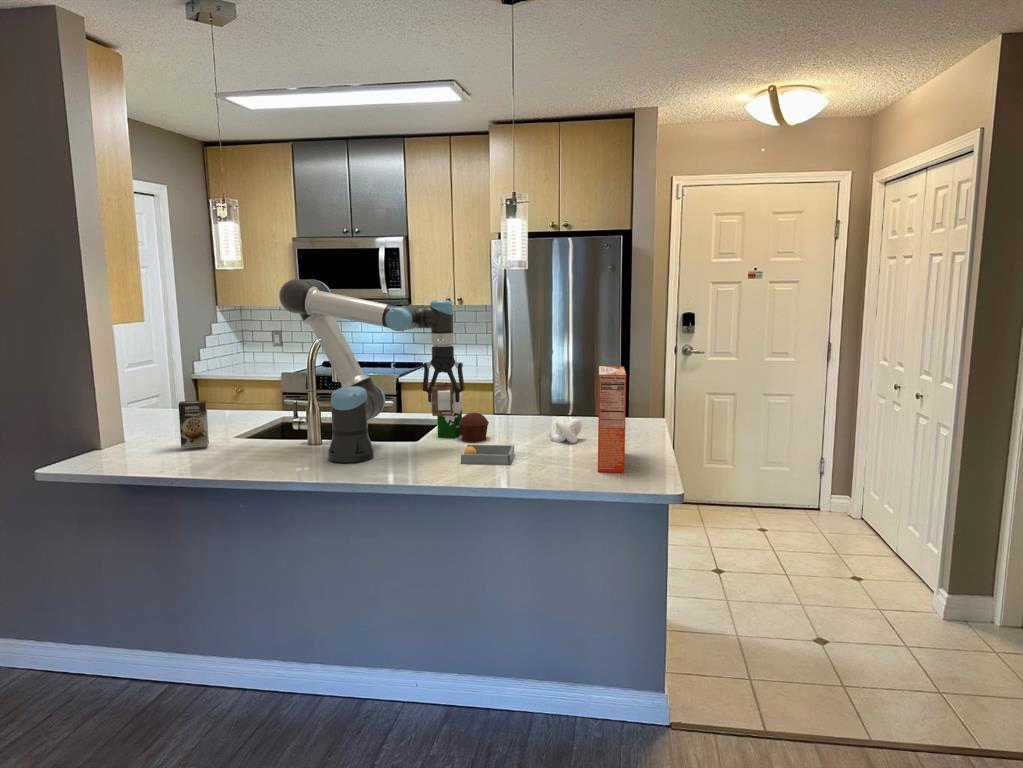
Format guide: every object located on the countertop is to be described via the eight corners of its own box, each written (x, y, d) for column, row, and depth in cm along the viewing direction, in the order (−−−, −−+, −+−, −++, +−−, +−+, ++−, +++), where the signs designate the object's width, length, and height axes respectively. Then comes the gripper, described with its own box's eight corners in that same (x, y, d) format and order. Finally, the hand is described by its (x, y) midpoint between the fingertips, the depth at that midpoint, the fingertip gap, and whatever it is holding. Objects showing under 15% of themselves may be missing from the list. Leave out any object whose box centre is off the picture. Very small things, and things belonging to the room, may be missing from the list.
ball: (469, 462, 222) (460, 453, 222) (472, 459, 226) (463, 451, 226) (477, 453, 221) (468, 445, 221) (480, 451, 225) (471, 442, 225)
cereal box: (597, 453, 229) (599, 366, 225) (622, 454, 228) (623, 366, 224) (597, 471, 207) (599, 374, 203) (624, 472, 206) (626, 374, 202)
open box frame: (432, 415, 232) (431, 387, 230) (436, 412, 239) (435, 384, 237) (452, 416, 231) (451, 387, 230) (456, 412, 238) (455, 384, 237)
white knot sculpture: (570, 437, 255) (570, 414, 254) (590, 443, 245) (590, 419, 244) (545, 441, 249) (545, 417, 248) (565, 447, 239) (565, 422, 238)
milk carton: (443, 433, 263) (442, 382, 260) (465, 435, 260) (464, 383, 257) (434, 438, 255) (433, 385, 252) (456, 439, 252) (455, 386, 249)
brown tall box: (180, 448, 240) (177, 403, 238) (182, 444, 246) (179, 401, 244) (208, 446, 244) (205, 402, 242) (209, 442, 250) (206, 399, 248)
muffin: (484, 444, 245) (484, 417, 243) (455, 442, 247) (454, 416, 245) (491, 437, 256) (491, 411, 255) (463, 436, 258) (463, 410, 257)
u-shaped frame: (460, 463, 217) (460, 454, 216) (467, 453, 231) (467, 444, 231) (510, 464, 215) (510, 455, 215) (514, 453, 229) (514, 445, 229)
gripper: (411, 346, 229) (413, 413, 232) (469, 346, 227) (470, 413, 230) (416, 344, 236) (418, 409, 239) (473, 344, 234) (474, 409, 237)
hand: (444, 411), depth 235 cm, fingers closed on open box frame, 7 cm apart
